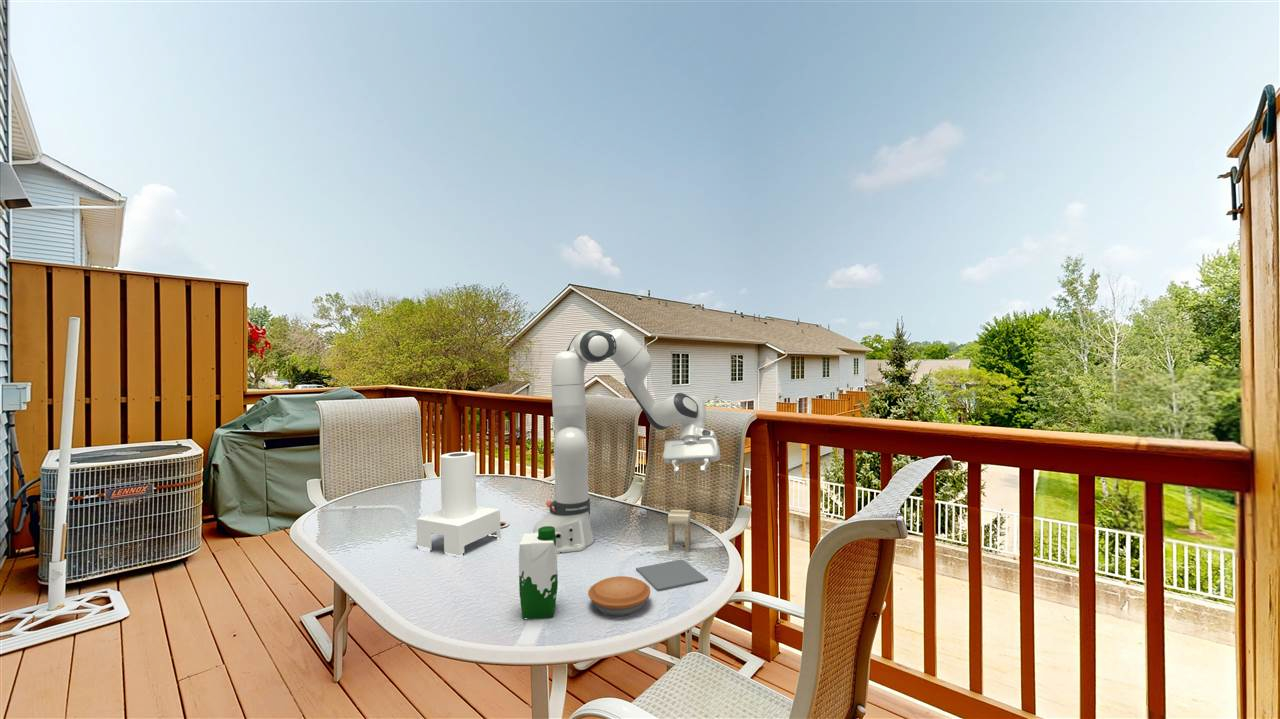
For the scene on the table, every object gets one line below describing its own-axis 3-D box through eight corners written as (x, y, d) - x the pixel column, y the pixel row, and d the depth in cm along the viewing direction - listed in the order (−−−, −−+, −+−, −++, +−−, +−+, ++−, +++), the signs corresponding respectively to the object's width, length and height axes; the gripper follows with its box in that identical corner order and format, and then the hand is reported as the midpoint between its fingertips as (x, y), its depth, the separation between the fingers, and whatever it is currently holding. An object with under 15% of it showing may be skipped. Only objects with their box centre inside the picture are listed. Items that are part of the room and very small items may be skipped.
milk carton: (556, 619, 121) (554, 534, 121) (517, 621, 120) (515, 536, 120) (559, 601, 129) (557, 522, 129) (523, 604, 128) (521, 524, 128)
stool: (688, 551, 161) (688, 516, 161) (668, 550, 162) (667, 515, 162) (690, 544, 167) (690, 510, 167) (671, 543, 169) (670, 509, 169)
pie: (600, 627, 117) (600, 605, 117) (580, 598, 131) (580, 578, 131) (661, 612, 123) (661, 591, 123) (636, 586, 137) (635, 567, 137)
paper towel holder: (460, 531, 185) (458, 448, 185) (500, 538, 177) (498, 451, 177) (417, 549, 168) (415, 457, 168) (459, 558, 160) (457, 461, 160)
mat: (657, 591, 134) (657, 589, 134) (636, 570, 148) (636, 568, 148) (707, 580, 140) (707, 578, 140) (682, 561, 154) (682, 559, 154)
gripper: (662, 434, 187) (658, 469, 178) (718, 431, 180) (716, 466, 171) (667, 443, 191) (663, 477, 183) (721, 440, 184) (720, 475, 176)
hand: (689, 472), depth 177 cm, fingers open, 8 cm apart
